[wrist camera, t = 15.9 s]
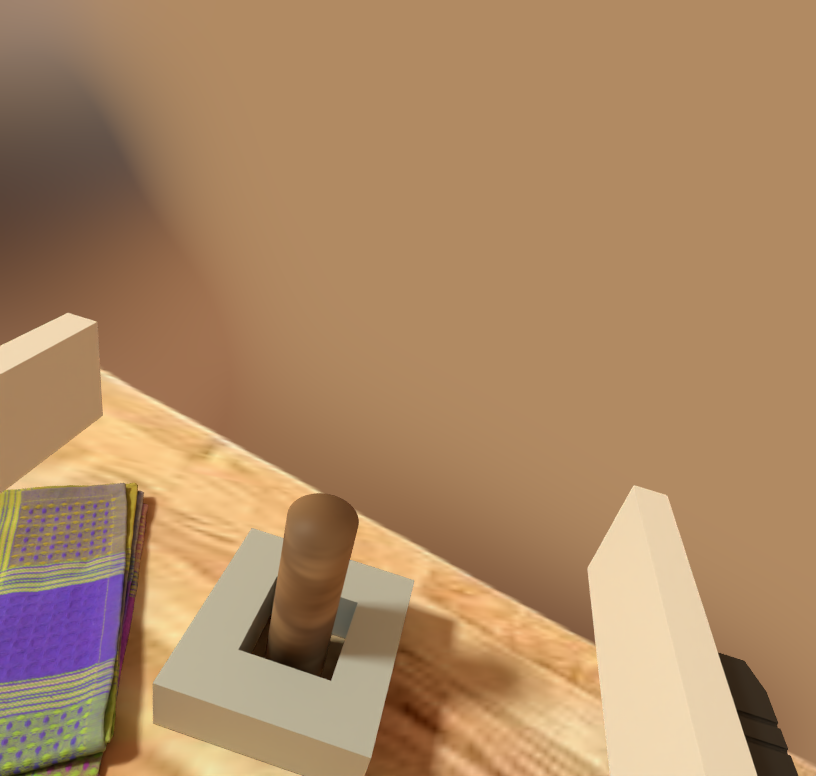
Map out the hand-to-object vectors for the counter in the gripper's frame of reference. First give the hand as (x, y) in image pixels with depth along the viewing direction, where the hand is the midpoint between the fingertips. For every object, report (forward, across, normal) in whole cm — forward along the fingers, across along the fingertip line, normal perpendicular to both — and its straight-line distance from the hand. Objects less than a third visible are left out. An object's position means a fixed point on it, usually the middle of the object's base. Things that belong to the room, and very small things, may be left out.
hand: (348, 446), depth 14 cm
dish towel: (+11, -24, -33) cm, 42 cm away
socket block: (+15, -3, -32) cm, 35 cm away
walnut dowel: (+15, -3, -32) cm, 35 cm away
